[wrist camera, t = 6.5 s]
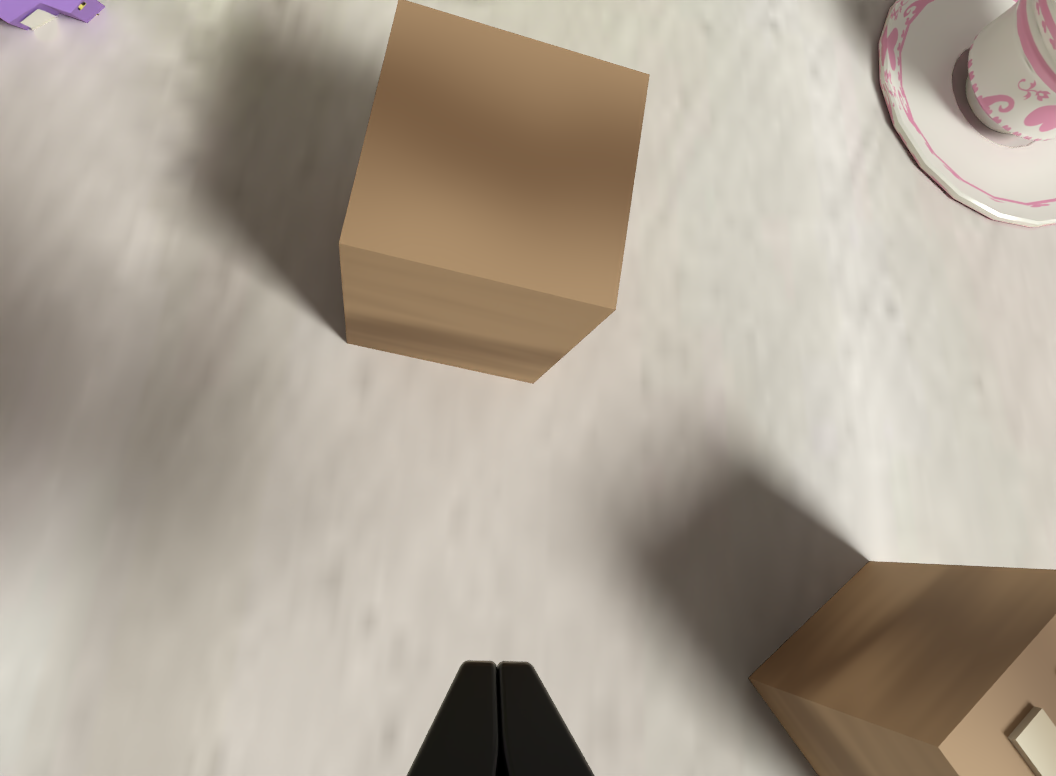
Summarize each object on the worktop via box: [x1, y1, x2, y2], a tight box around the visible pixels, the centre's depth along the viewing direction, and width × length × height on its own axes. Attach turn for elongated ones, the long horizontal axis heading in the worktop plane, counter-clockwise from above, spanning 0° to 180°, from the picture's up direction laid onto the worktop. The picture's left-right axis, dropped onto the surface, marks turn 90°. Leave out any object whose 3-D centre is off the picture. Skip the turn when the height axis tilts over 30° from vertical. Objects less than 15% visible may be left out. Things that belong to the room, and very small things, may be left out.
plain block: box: [339, 0, 649, 383], centre depth 20 cm, size 6×6×8 cm
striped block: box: [748, 561, 1056, 776], centre depth 20 cm, size 6×6×8 cm
